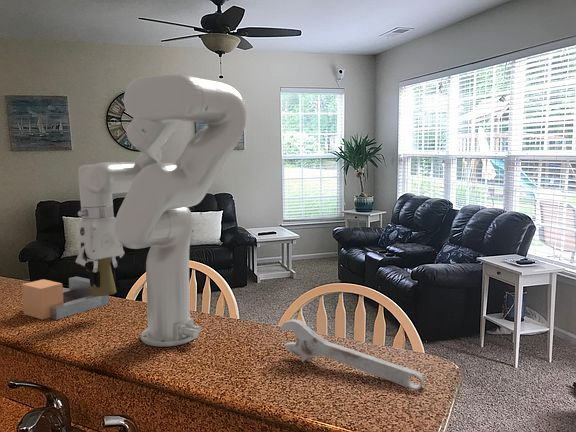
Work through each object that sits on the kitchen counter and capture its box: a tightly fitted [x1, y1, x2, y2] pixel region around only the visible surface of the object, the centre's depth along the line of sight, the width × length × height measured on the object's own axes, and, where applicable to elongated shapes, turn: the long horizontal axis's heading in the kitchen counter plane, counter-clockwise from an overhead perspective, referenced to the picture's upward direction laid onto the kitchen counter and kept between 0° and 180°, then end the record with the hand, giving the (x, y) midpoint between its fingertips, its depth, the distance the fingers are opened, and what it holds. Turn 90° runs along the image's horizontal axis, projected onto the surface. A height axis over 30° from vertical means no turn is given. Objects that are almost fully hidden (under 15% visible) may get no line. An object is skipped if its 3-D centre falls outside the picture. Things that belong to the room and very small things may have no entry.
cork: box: [91, 257, 117, 296], centre depth 121 cm, size 6×6×11 cm
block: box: [21, 279, 64, 320], centre depth 125 cm, size 8×6×8 cm
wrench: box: [279, 318, 425, 391], centre depth 93 cm, size 8×2×30 cm
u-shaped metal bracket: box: [50, 276, 110, 321], centre depth 131 cm, size 14×16×6 cm
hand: (103, 284), depth 122 cm, fingers closed on cork, 4 cm apart
